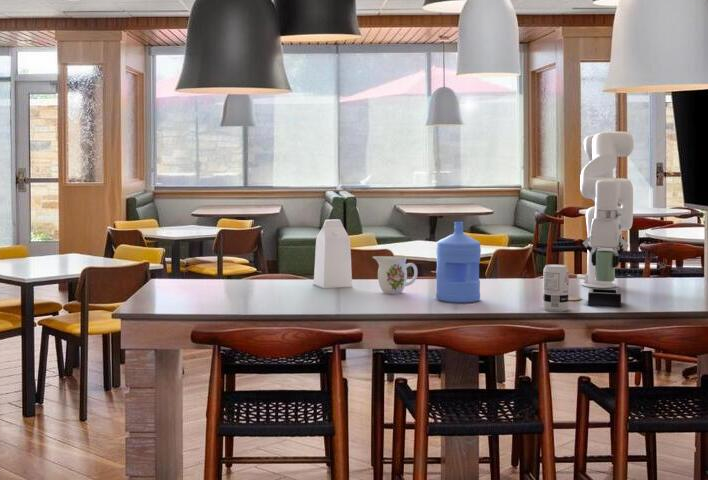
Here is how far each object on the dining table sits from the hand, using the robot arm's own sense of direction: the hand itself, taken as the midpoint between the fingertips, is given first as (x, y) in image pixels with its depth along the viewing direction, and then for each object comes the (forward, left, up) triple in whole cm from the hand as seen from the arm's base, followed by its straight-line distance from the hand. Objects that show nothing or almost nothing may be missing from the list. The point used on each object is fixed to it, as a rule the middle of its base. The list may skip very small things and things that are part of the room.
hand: (605, 265), depth 339 cm
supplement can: (-10, -21, -14) cm, 27 cm away
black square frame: (0, 0, -14) cm, 14 cm away
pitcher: (-73, -19, -14) cm, 77 cm away
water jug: (-46, -21, -14) cm, 52 cm away
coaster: (-15, +4, -14) cm, 20 cm away
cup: (0, 0, -5) cm, 5 cm away
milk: (-102, -17, -14) cm, 104 cm away
